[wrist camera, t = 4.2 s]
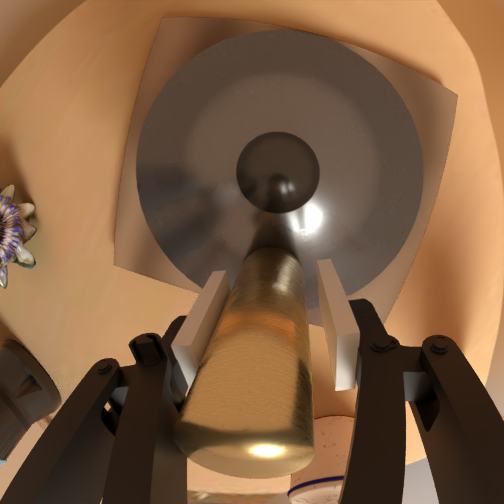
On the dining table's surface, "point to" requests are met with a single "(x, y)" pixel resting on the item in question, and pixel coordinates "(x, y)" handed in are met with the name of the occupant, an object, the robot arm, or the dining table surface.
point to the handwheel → (273, 222)
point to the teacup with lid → (324, 463)
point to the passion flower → (14, 233)
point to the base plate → (219, 29)
